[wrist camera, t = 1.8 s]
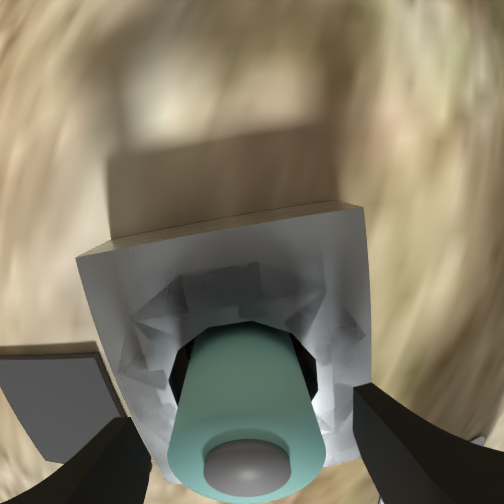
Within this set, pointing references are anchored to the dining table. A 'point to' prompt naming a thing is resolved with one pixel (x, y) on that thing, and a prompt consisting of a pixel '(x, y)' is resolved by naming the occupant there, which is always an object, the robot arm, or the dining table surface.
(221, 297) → the housing
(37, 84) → the dining table surface
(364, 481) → the dining table surface
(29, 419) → the mat
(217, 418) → the teal and grey cylinder
